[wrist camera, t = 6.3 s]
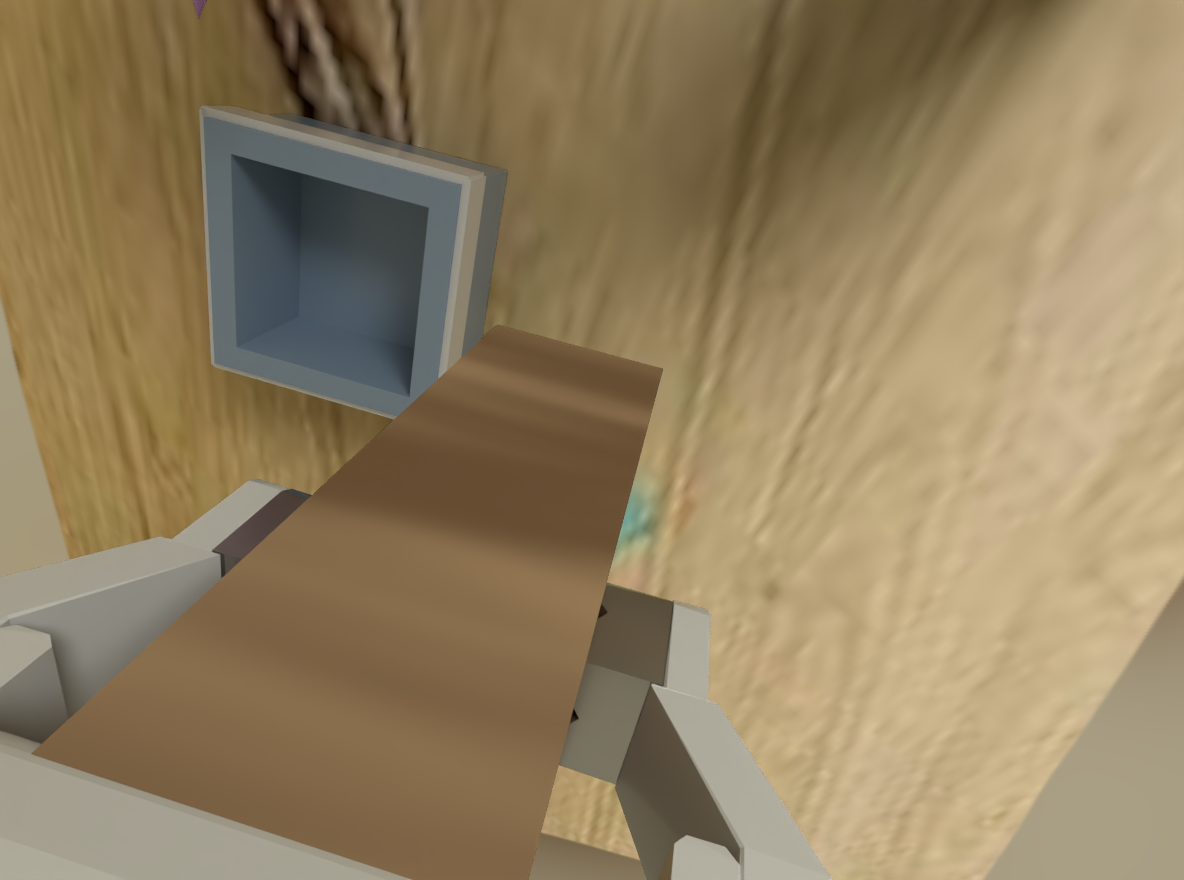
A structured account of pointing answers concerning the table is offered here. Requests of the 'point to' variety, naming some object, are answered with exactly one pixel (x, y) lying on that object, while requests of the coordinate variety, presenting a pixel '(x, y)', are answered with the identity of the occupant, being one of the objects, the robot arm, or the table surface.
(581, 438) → the brown wooden block
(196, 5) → the mauve toy figure
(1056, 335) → the table surface
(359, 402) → the blue square box
